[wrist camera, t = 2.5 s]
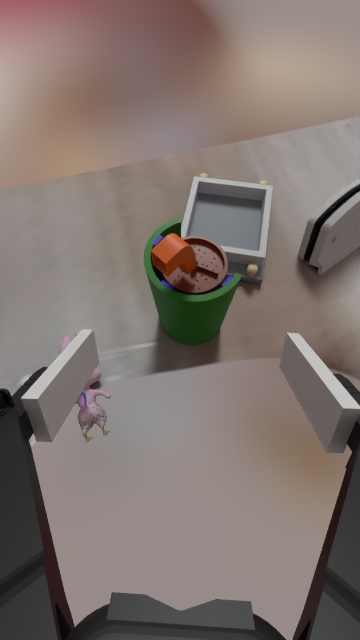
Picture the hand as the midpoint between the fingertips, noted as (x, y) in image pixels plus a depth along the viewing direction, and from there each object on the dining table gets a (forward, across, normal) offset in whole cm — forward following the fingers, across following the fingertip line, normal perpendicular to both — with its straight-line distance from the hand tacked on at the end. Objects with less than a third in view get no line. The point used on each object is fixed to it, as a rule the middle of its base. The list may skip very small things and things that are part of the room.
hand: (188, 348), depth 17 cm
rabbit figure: (+13, -15, -15) cm, 25 cm away
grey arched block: (+32, +26, +4) cm, 41 cm away
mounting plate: (+33, +6, +5) cm, 34 cm away
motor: (+21, 0, -7) cm, 22 cm away
